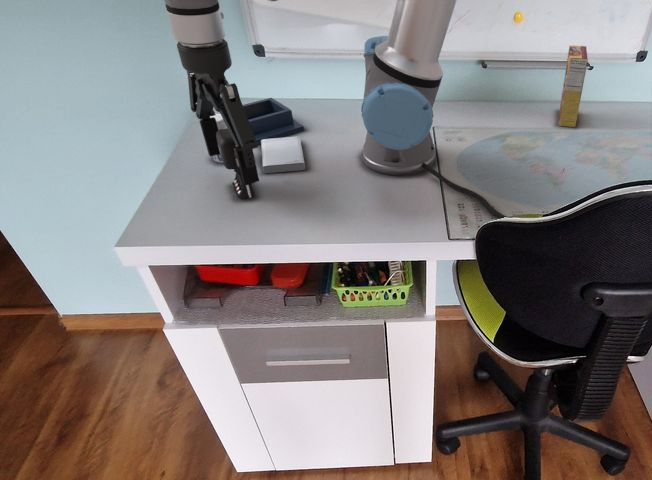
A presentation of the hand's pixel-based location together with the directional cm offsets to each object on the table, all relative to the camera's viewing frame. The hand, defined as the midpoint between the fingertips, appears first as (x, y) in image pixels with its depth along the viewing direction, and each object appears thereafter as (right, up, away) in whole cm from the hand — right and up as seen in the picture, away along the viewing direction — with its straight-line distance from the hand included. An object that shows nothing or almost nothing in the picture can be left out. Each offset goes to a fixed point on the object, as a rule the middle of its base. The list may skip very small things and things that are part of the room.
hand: (233, 167), depth 99 cm
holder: (-3, +17, +23) cm, 29 cm away
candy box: (+69, +23, +33) cm, 79 cm away
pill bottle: (-7, +6, +13) cm, 16 cm away
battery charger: (0, -4, +4) cm, 5 cm away
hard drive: (+5, +7, +14) cm, 16 cm away
